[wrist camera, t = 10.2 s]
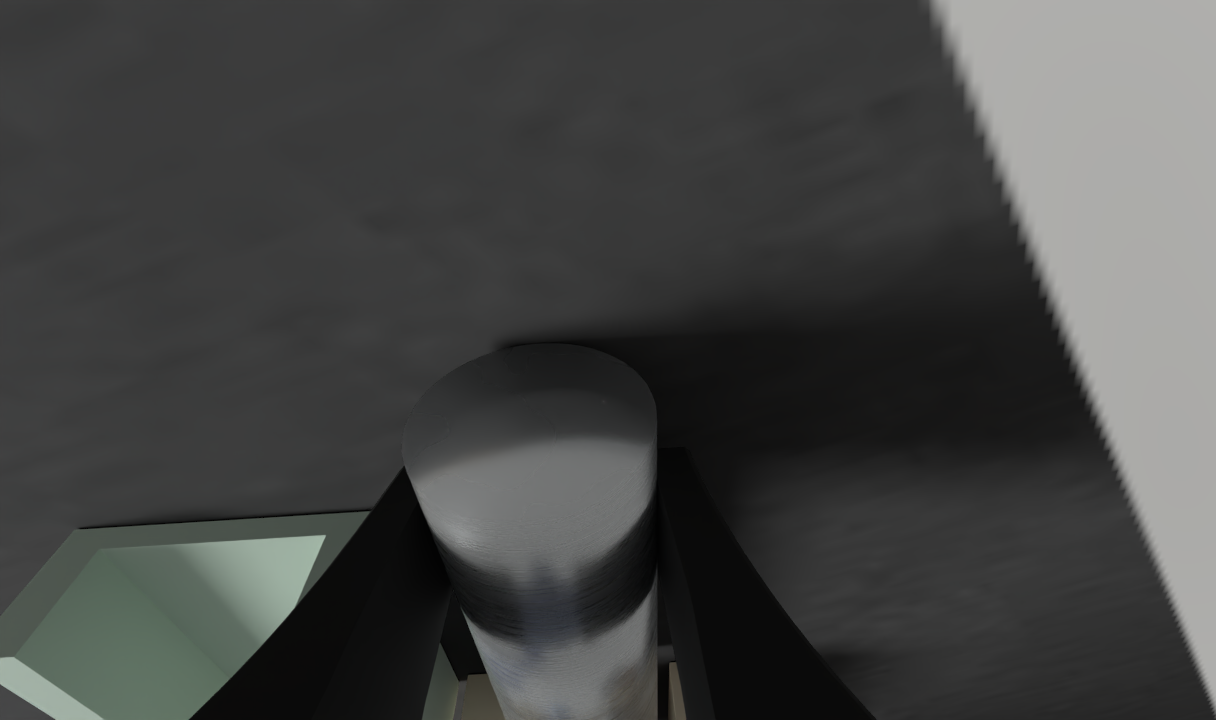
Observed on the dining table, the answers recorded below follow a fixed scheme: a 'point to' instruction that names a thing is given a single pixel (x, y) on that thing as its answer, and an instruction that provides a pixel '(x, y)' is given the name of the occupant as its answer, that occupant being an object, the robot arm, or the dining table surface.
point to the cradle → (168, 614)
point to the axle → (547, 524)
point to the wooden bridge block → (486, 714)
